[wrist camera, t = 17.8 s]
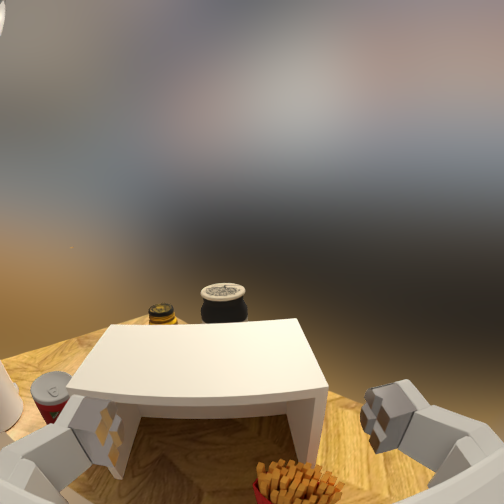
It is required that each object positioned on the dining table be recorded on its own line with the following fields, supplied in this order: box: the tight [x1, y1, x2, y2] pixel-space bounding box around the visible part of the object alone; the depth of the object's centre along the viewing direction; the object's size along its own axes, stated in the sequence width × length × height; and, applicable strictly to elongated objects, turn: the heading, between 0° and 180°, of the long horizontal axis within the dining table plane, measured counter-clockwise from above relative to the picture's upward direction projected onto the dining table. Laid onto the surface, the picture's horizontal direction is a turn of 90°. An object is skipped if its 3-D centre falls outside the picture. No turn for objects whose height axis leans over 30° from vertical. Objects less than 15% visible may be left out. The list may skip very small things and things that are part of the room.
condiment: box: [149, 303, 178, 325], centre depth 59 cm, size 7×8×12 cm
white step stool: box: [66, 318, 329, 480], centre depth 34 cm, size 26×15×17 cm, turn 94°
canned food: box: [30, 371, 72, 425], centre depth 32 cm, size 8×8×11 cm
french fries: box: [252, 459, 345, 504], centre depth 21 cm, size 8×4×12 cm, turn 60°
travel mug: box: [201, 283, 248, 324], centre depth 52 cm, size 8×8×18 cm
